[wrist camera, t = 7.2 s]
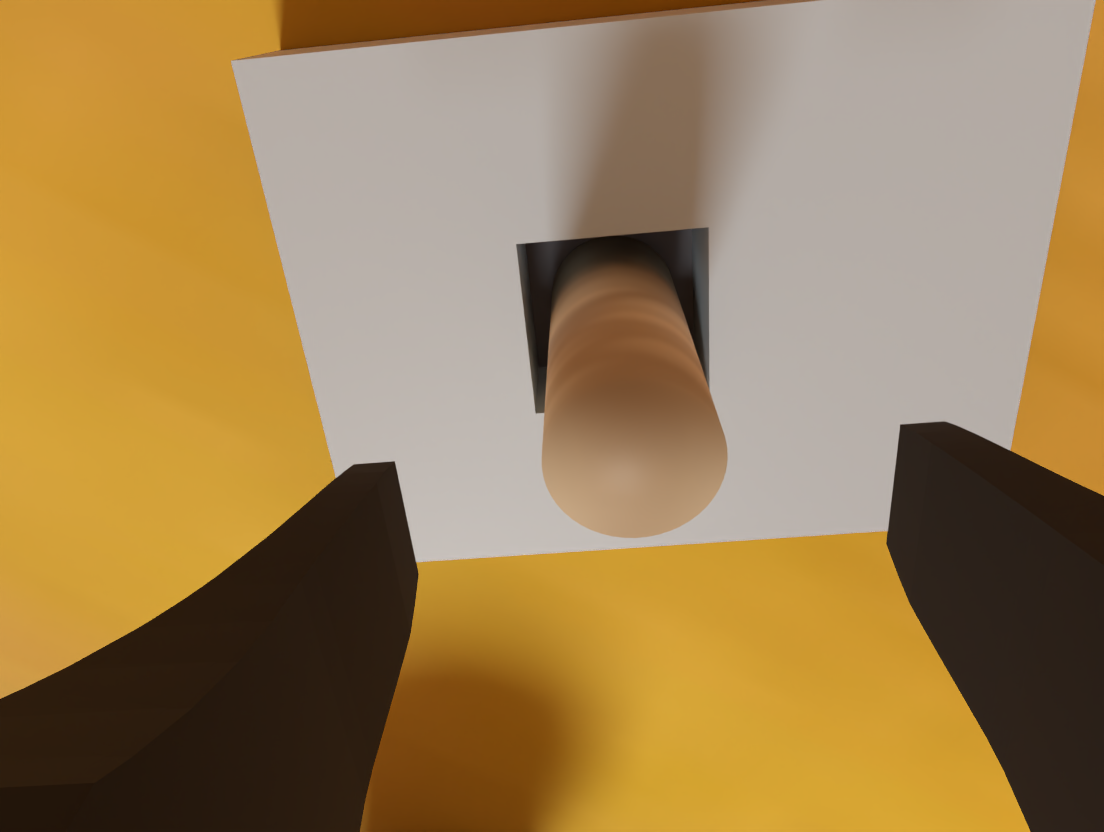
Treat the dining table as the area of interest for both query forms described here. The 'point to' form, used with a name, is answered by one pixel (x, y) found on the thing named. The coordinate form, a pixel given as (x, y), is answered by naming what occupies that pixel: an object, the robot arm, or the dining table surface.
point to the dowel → (626, 396)
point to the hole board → (672, 240)
